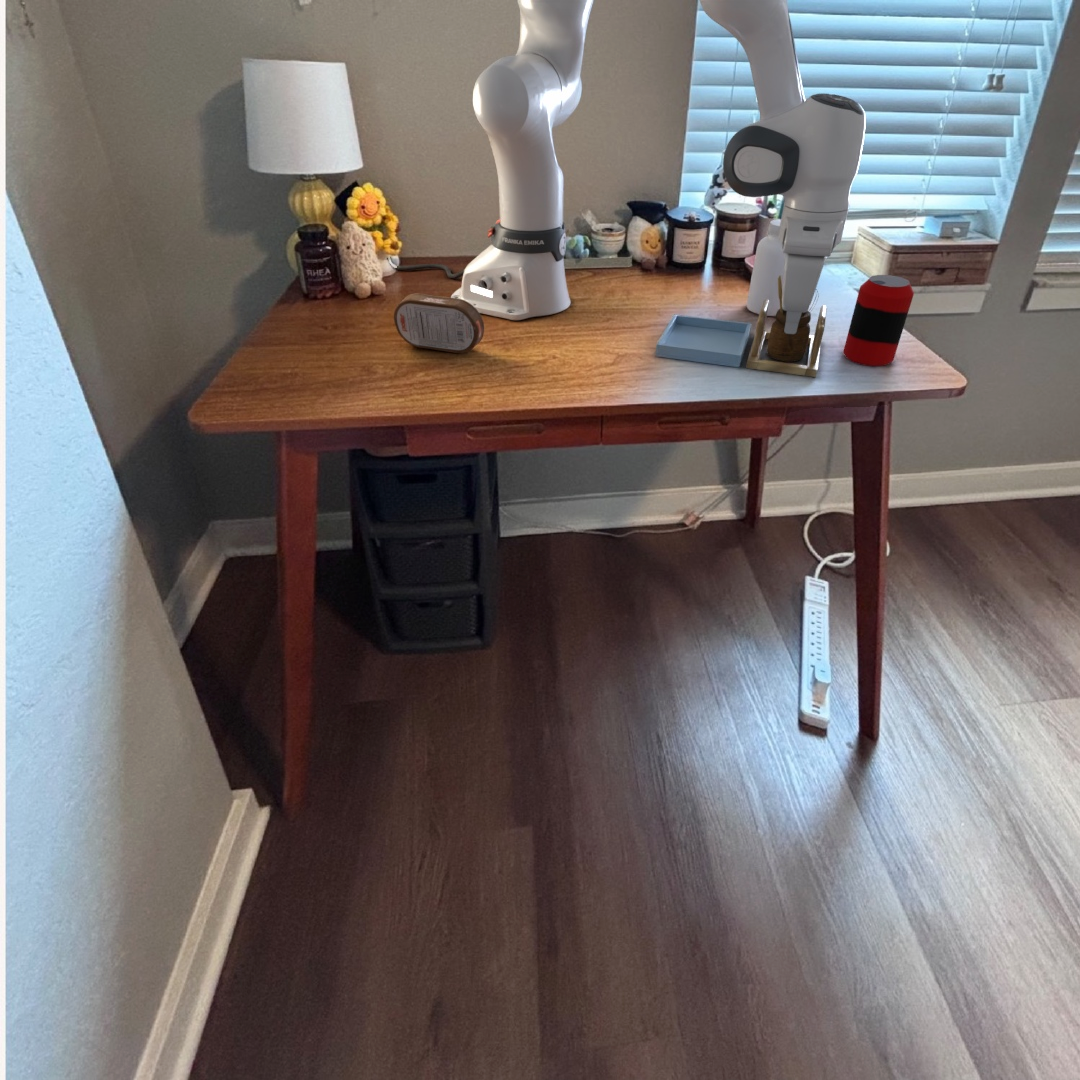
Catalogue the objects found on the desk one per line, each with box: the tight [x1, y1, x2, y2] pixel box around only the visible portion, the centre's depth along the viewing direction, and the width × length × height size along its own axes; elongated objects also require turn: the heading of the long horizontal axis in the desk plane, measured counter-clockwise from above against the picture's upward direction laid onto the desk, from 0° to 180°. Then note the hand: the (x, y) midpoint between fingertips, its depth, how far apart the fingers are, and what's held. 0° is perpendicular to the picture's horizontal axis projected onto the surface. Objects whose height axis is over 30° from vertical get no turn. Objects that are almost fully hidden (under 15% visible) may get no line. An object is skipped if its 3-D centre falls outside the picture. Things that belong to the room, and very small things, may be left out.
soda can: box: [842, 274, 915, 367], centre depth 111 cm, size 8×8×12 cm
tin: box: [393, 292, 485, 354], centre depth 116 cm, size 15×3×8 cm, turn 71°
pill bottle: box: [746, 218, 785, 317], centre depth 127 cm, size 8×8×15 cm
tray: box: [654, 314, 753, 368], centre depth 118 cm, size 13×14×2 cm
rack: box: [745, 299, 828, 378], centre depth 113 cm, size 10×14×7 cm
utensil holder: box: [766, 275, 820, 363], centre depth 112 cm, size 6×6×12 cm
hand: (792, 321), depth 112 cm, fingers open, 8 cm apart
